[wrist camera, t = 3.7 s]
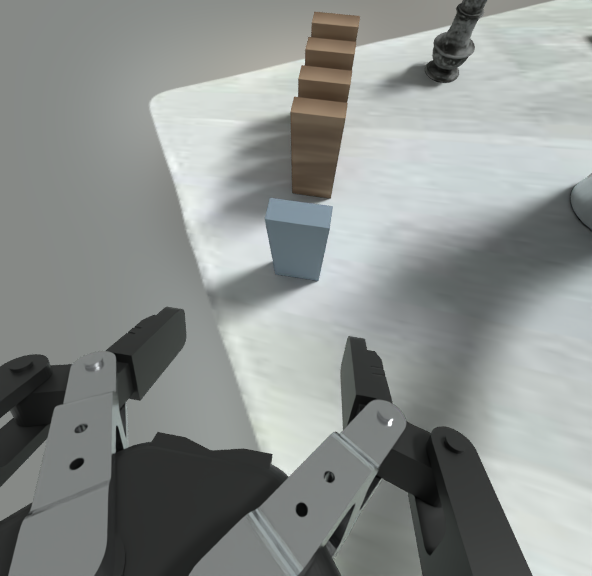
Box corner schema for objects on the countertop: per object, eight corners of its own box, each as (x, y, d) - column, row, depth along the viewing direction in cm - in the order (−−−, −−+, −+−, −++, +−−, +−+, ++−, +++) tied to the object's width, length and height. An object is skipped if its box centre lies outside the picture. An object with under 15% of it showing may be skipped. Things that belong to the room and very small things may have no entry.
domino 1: (341, 122, 39) (358, 27, 28) (307, 118, 39) (311, 22, 29) (343, 112, 39) (360, 16, 29) (309, 108, 40) (314, 11, 29)
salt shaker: (456, 58, 43) (512, -56, 32) (464, 83, 42) (527, -29, 30) (420, 59, 43) (463, -55, 32) (426, 84, 41) (475, -28, 30)
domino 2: (338, 145, 37) (354, 54, 27) (303, 141, 38) (305, 49, 27) (339, 135, 38) (356, 41, 28) (305, 130, 38) (308, 37, 28)
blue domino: (318, 280, 31) (329, 228, 20) (275, 274, 31) (264, 219, 20) (320, 265, 31) (332, 206, 21) (278, 258, 31) (269, 197, 21)
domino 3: (334, 171, 36) (350, 84, 25) (297, 166, 36) (298, 78, 26) (336, 159, 36) (352, 70, 26) (300, 154, 37) (301, 65, 26)
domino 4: (330, 198, 34) (345, 118, 24) (292, 193, 35) (290, 111, 24) (332, 186, 35) (347, 102, 25) (294, 180, 35) (294, 96, 25)
